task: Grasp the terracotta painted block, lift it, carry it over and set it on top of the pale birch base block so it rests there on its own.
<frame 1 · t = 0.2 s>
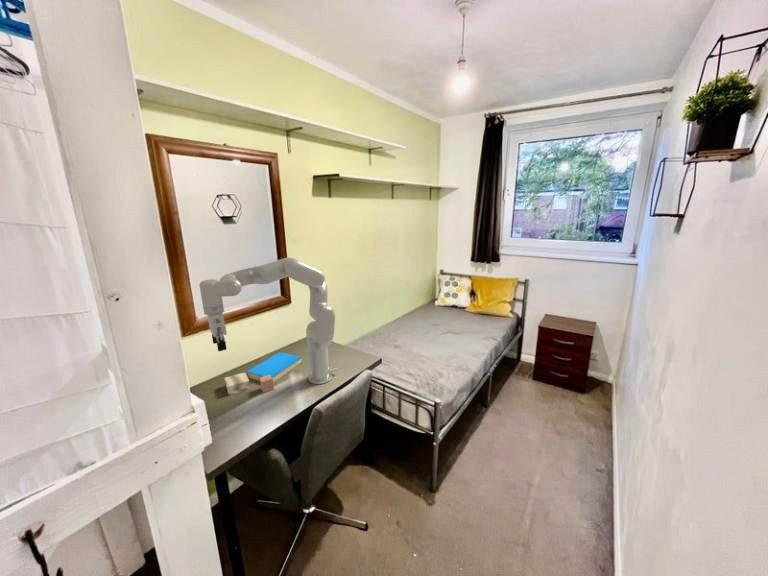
hand: (219, 346, 139), 31 cm above the table, fingers open, 9 cm apart
base: (238, 387, 163), on the table
book: (275, 370, 180), on the table
block: (267, 388, 162), on the table
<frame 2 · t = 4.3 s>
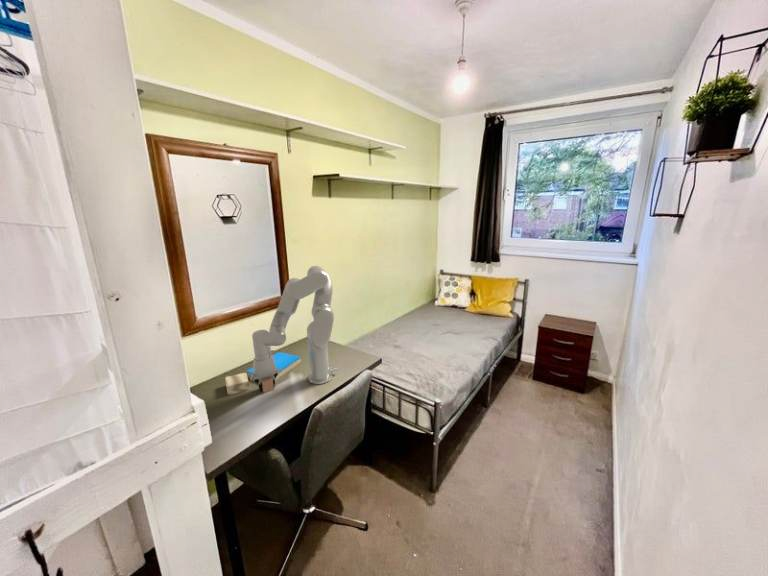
hand: (267, 387, 161), 1 cm above the table, fingers closed on block, 5 cm apart
block: (267, 388, 162), on the table, touching gripper
everything else where it was.
when the fingers open (7 cm above the table, at t = 10.4 s): block drops 2 cm, resting on base.
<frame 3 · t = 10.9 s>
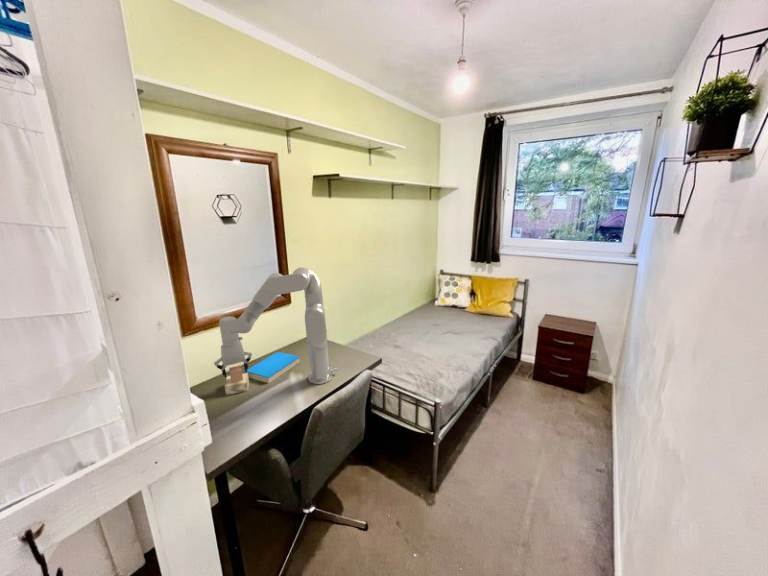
hand: (235, 373, 161), 8 cm above the table, fingers open, 9 cm apart
base: (238, 388, 163), on the table, touching block
block: (236, 379, 162), point 5 cm above the table, touching base
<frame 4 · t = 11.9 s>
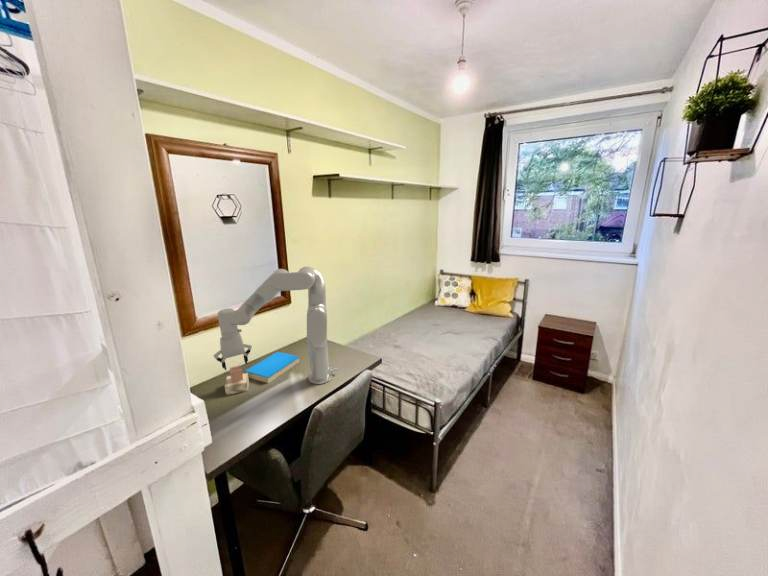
hand: (235, 365, 160), 12 cm above the table, fingers open, 9 cm apart
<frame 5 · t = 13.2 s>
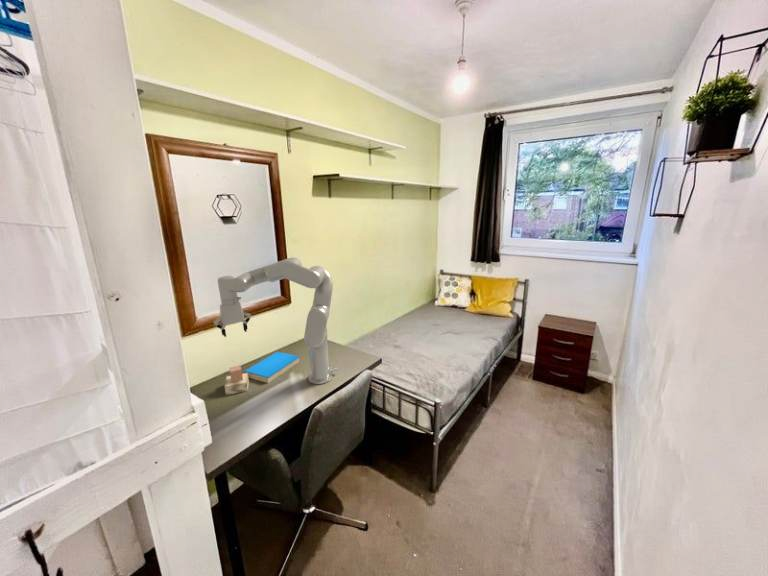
hand: (235, 333, 162), 27 cm above the table, fingers open, 9 cm apart
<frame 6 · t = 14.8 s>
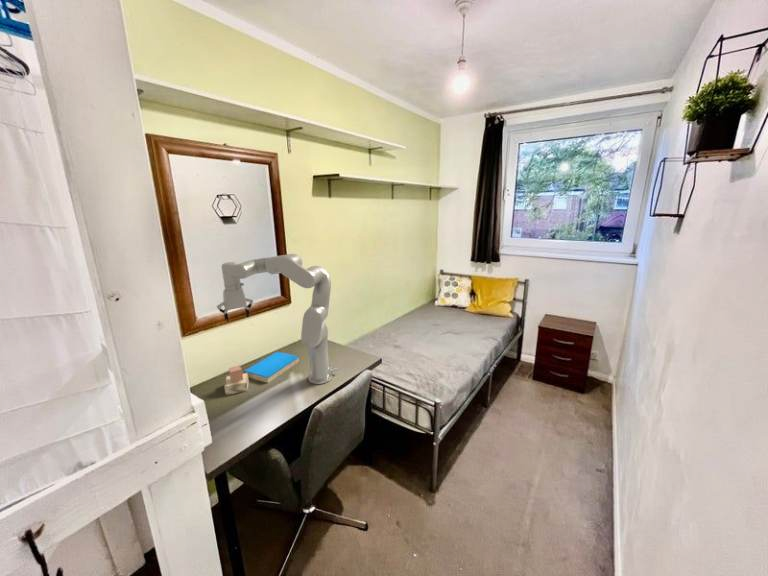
hand: (237, 318, 167), 32 cm above the table, fingers open, 9 cm apart
at the end: block inside the target area on the base (0.2 cm from its centre), point 5.0 cm above the base's base; block tilted 0°; the gripper is holding nothing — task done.
